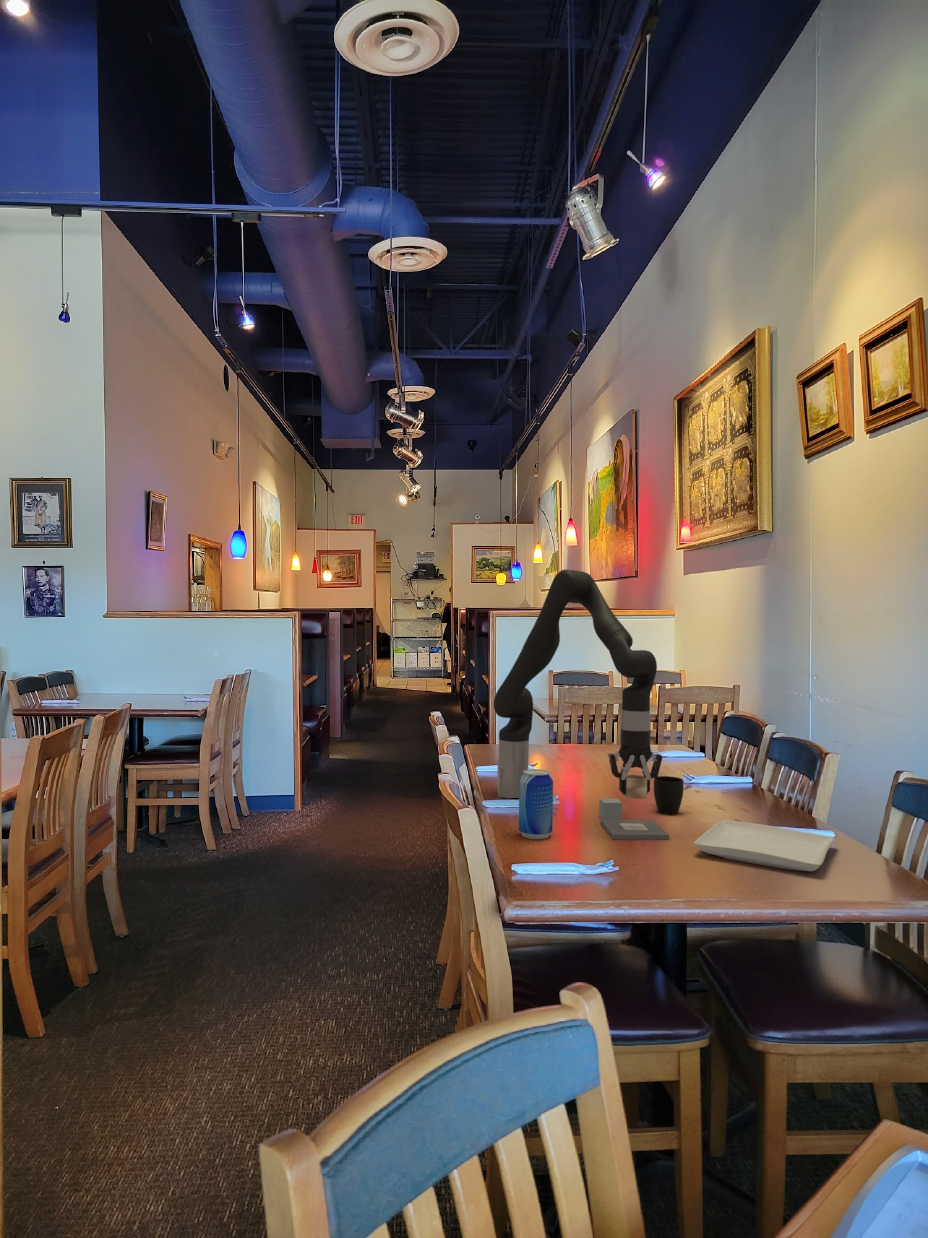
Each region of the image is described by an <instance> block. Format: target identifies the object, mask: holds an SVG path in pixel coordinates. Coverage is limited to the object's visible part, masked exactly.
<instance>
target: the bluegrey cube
mask: <svg viewBox="0 0 928 1238" xmlns="http://www.w3.org/2000/svg"><path fill="white" fill-rule="evenodd" d="M598 809H599V810H598V811H599V813H598V814H599V815H598V816H599V818H600V820H623V819H622V818H623V817H622V816H623V815H622V814H623V803H622V801H621V800H620V799H618V798H604V797H603V798H599V805H598Z"/></svg>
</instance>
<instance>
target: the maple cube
mask: <svg viewBox="0 0 928 1238" xmlns="http://www.w3.org/2000/svg"><path fill="white" fill-rule="evenodd" d="M625 780H626V794H622V796H624V797H625V798H626V799H629V800H630V799H631V800H632V799H635V800H637V799H638V800H639V799H642V800H643V799H648V794H647V779H646V778H645V777H644V776H643V774H627V776H626V779H625Z"/></svg>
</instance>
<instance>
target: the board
mask: <svg viewBox="0 0 928 1238" xmlns="http://www.w3.org/2000/svg"><path fill="white" fill-rule="evenodd" d="M600 825H601V826H602V827H603V829H604V830H605V831H606V832H607V833H608V835H609V836H610V837H611V838H612V840H642V841H643V840H648V841H649V840H654V841H655V840H657V841H658V840H661V841H662V840H664V841H665V840H666V841H668V840H670V834H669V833H668V832H666V830H665V829H663V828H662V827H661V826H660V825H659V824H658V823H657V822H655V820H654V819H622V820H602V819H600Z"/></svg>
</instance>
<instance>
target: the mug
mask: <svg viewBox="0 0 928 1238" xmlns="http://www.w3.org/2000/svg"><path fill="white" fill-rule="evenodd" d="M684 782H685V781H684V779H683V778H680V777H677V776H669V775H668V776H667V775H661V776H659V775H658V777H657V778H653V796H654V801H655V805H656V808H657V813H659V814H662V815H666V814H668V816H673V814H676V815H679V811H680V808H681V806H682V805H681V804H682V801H683V796H684Z"/></svg>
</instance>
